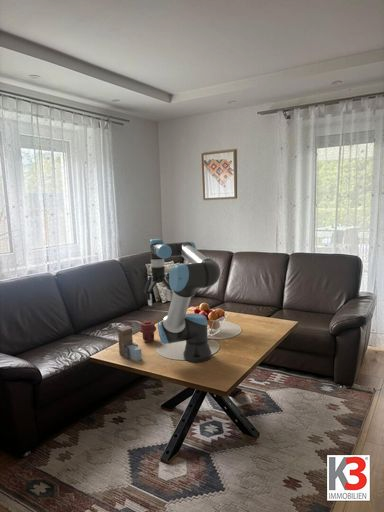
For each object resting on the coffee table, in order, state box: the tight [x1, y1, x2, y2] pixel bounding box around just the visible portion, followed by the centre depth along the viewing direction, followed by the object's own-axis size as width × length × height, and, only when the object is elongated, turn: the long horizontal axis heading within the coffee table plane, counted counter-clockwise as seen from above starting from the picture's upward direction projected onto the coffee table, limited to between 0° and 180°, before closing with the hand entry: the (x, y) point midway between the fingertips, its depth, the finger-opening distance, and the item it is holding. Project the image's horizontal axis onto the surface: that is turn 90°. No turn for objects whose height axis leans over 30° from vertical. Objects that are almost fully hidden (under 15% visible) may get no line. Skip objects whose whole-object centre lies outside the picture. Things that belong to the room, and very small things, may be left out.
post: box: [116, 325, 139, 360], centre depth 204 cm, size 9×7×15 cm
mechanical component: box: [139, 320, 157, 344], centre depth 225 cm, size 12×10×10 cm
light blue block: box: [126, 344, 143, 362], centre depth 200 cm, size 10×4×6 cm, turn 41°
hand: (159, 302), depth 210 cm, fingers open, 13 cm apart
